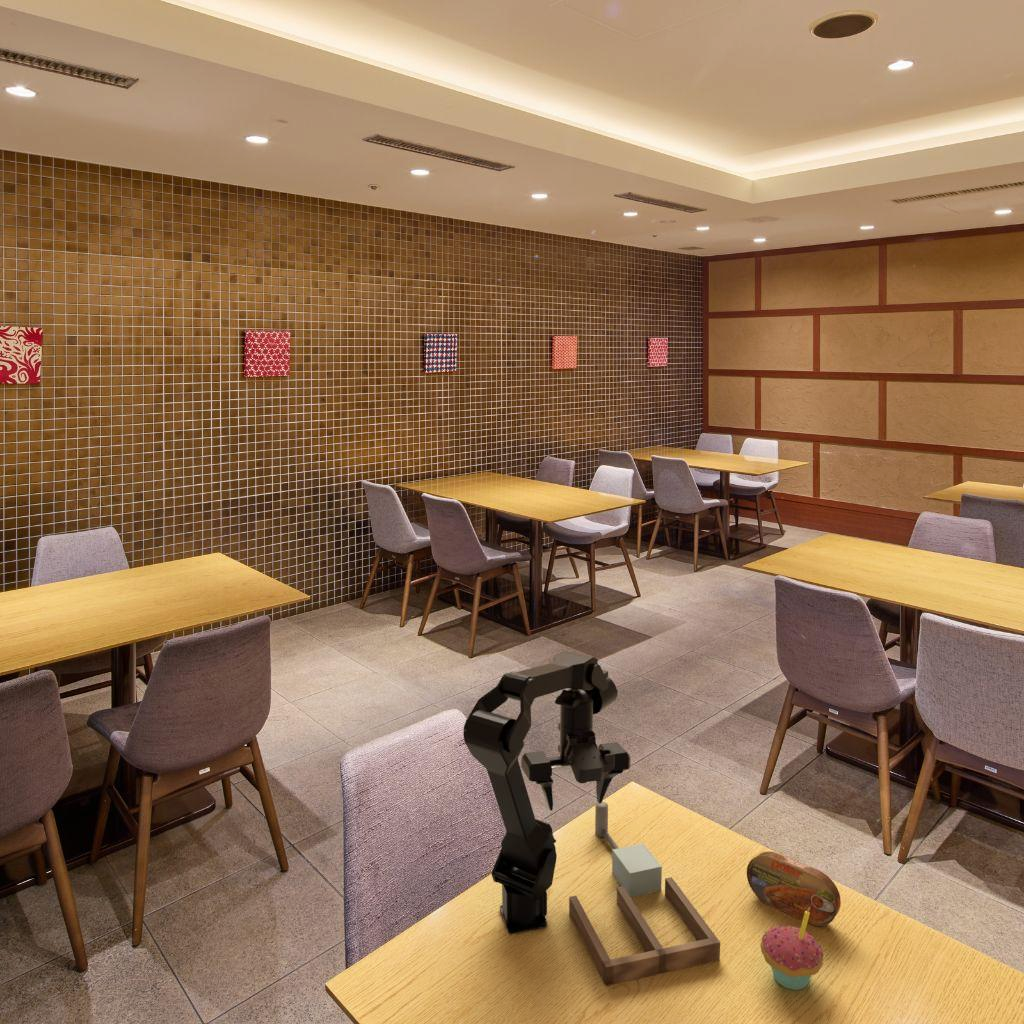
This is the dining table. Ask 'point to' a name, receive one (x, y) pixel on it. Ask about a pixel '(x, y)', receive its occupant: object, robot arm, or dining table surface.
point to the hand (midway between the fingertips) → (575, 805)
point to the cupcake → (792, 954)
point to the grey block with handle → (629, 860)
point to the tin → (794, 888)
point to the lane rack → (648, 939)
